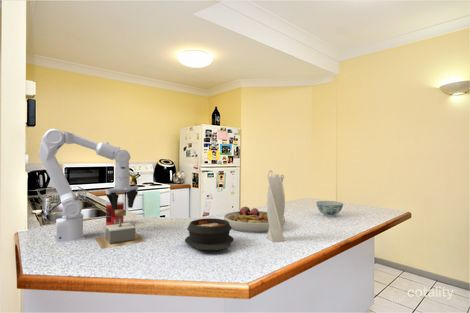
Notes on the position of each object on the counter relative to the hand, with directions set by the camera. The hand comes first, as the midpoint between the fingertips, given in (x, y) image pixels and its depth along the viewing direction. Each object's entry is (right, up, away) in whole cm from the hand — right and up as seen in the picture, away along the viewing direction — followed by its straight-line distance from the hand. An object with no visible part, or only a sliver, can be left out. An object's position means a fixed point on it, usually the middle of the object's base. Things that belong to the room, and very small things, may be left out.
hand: (122, 209), depth 116 cm
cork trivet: (+3, -11, -11) cm, 15 cm away
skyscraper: (+65, -11, -7) cm, 66 cm away
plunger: (+3, -7, -10) cm, 13 cm away
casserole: (+39, -11, -13) cm, 42 cm away
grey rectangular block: (+3, -10, -11) cm, 15 cm away
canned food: (-10, -11, +15) cm, 22 cm away
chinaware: (+104, -13, +43) cm, 113 cm away
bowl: (+58, -12, +16) cm, 61 cm away
